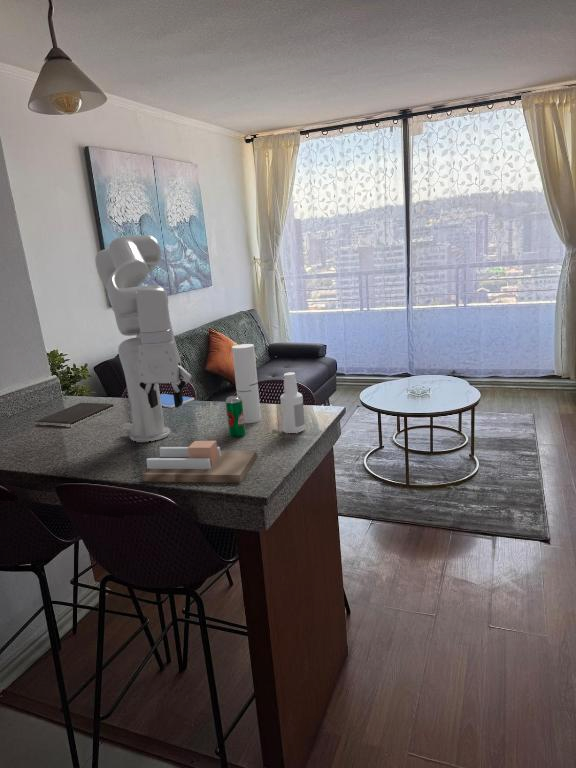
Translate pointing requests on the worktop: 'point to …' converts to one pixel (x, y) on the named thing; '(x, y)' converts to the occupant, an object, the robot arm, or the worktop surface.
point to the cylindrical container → (247, 381)
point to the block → (204, 450)
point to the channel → (178, 459)
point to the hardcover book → (75, 413)
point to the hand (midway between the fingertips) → (166, 405)
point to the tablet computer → (172, 400)
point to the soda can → (235, 416)
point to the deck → (208, 470)
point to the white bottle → (292, 406)
